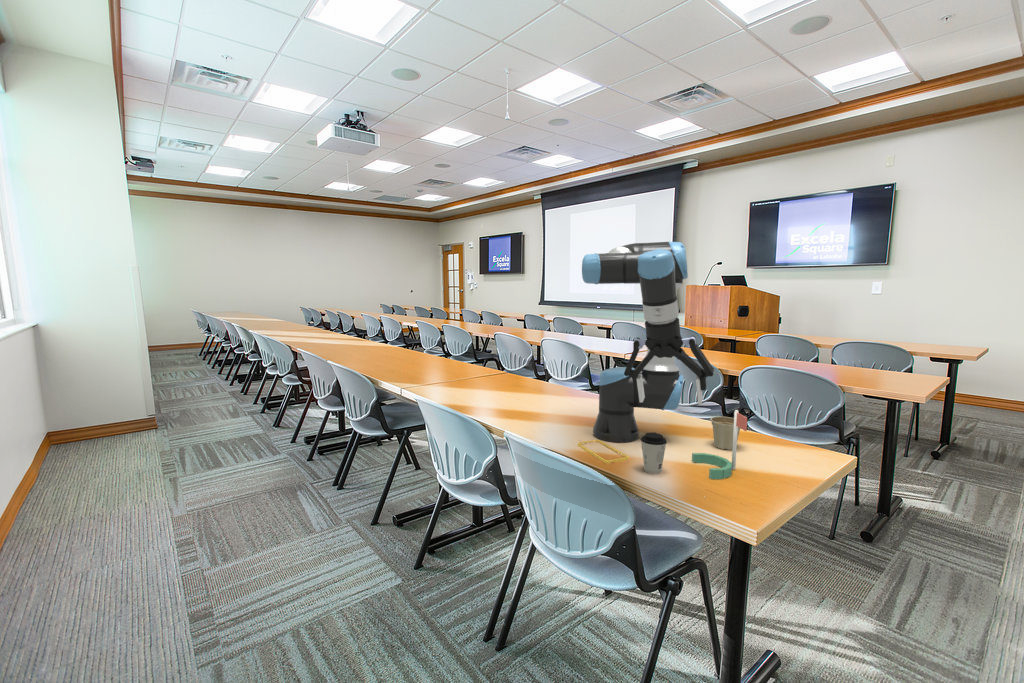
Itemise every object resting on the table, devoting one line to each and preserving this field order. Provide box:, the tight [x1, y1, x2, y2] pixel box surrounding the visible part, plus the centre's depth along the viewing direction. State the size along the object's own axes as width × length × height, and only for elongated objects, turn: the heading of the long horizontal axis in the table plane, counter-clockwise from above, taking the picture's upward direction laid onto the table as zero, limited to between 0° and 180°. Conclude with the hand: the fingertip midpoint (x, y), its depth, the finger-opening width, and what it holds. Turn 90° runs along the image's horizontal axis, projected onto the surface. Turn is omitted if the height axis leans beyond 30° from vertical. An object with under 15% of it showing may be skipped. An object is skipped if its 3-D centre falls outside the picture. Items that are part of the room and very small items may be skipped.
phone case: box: [577, 439, 630, 464], centre depth 139 cm, size 8×17×1 cm, turn 22°
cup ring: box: [691, 452, 733, 480], centre depth 125 cm, size 12×8×2 cm, turn 1°
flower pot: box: [709, 416, 742, 451], centre depth 143 cm, size 9×9×9 cm
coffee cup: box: [640, 432, 668, 475], centre depth 125 cm, size 7×7×10 cm
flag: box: [731, 409, 748, 471], centre depth 122 cm, size 6×1×17 cm, turn 1°
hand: (670, 400), depth 110 cm, fingers open, 13 cm apart
